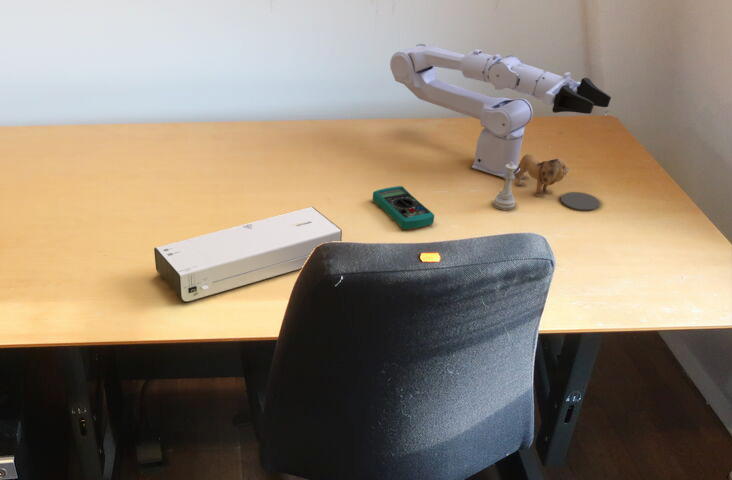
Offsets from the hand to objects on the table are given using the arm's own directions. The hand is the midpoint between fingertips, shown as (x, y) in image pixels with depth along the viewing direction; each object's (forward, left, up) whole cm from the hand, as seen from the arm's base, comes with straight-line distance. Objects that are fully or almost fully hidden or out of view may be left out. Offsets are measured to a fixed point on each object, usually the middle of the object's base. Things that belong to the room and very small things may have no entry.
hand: (600, 105), depth 175 cm
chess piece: (-11, -14, -21) cm, 27 cm away
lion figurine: (-9, -2, -21) cm, 23 cm away
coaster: (+1, -2, -21) cm, 21 cm away
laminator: (-36, -69, -21) cm, 80 cm away
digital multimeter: (-26, -31, -21) cm, 45 cm away
